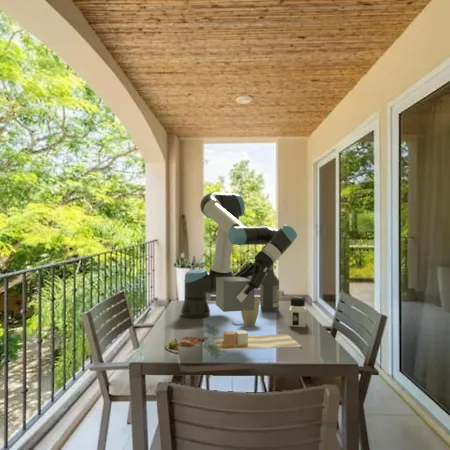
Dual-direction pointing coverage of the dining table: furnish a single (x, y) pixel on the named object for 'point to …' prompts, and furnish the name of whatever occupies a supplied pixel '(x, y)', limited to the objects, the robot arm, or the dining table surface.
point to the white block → (241, 337)
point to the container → (297, 312)
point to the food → (183, 343)
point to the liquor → (270, 292)
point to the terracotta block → (229, 337)
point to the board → (259, 342)
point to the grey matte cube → (233, 294)
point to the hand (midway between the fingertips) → (231, 296)
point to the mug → (251, 314)
